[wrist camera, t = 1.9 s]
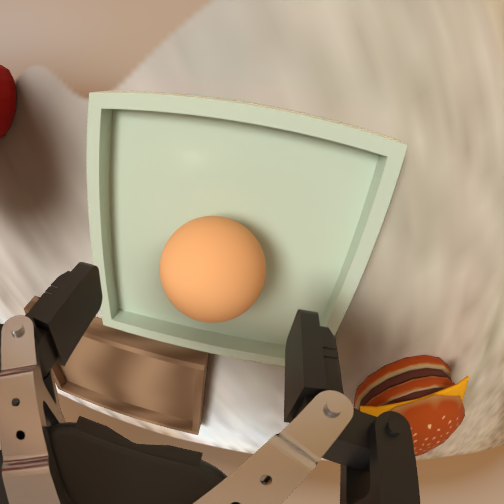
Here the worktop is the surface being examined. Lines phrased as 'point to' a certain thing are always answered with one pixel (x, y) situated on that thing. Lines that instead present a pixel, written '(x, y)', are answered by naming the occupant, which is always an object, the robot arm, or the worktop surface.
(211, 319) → the ball
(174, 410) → the tray
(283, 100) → the worktop surface
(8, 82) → the plastic cup
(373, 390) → the hamburger
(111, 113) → the dish
